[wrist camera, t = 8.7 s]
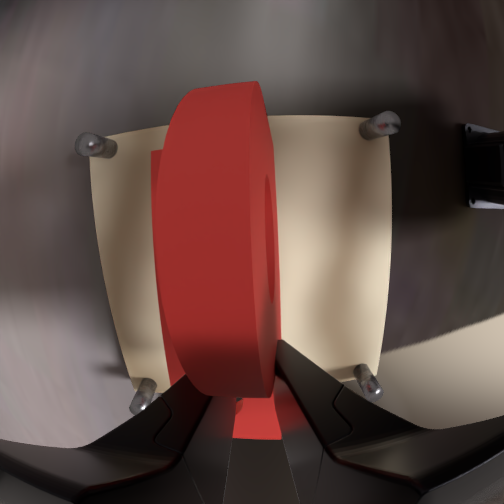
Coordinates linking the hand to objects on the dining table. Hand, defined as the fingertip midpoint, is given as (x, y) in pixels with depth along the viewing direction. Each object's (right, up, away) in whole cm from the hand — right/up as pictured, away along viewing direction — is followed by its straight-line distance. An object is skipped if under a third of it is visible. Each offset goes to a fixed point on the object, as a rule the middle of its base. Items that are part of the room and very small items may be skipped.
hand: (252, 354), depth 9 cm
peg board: (0, +2, +10) cm, 10 cm away
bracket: (-1, +1, +3) cm, 3 cm away
